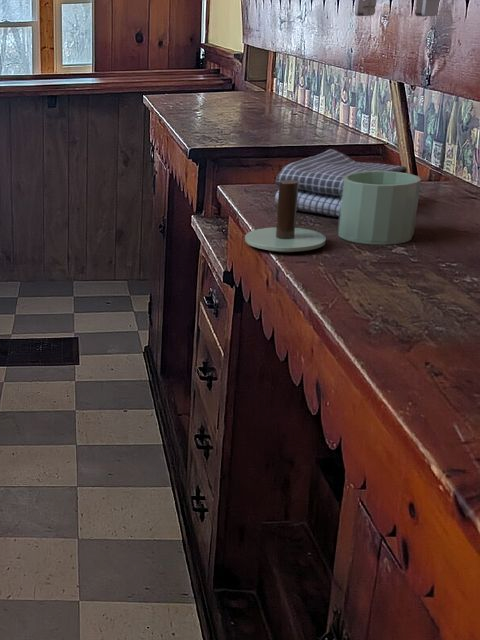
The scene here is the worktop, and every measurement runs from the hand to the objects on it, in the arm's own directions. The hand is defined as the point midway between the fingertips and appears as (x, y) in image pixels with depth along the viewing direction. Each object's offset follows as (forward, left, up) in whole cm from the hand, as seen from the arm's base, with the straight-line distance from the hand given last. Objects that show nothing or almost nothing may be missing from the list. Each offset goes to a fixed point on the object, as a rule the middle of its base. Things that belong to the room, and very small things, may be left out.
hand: (393, 16), depth 98 cm
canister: (+4, -20, -31) cm, 37 cm away
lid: (+14, -10, -30) cm, 35 cm away
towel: (+15, -36, -31) cm, 50 cm away
